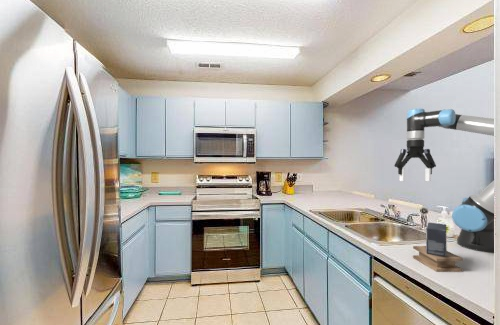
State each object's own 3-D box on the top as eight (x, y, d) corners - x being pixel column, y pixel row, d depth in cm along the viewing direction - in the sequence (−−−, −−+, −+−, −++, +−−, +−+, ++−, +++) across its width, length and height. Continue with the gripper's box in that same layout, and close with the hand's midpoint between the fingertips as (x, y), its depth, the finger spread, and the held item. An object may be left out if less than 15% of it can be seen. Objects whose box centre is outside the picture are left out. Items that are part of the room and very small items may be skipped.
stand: (436, 257, 106) (436, 245, 106) (462, 271, 93) (462, 258, 93) (413, 257, 106) (413, 246, 106) (436, 271, 93) (436, 258, 93)
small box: (427, 246, 106) (427, 221, 106) (446, 249, 102) (447, 224, 102) (425, 253, 98) (425, 227, 97) (446, 257, 94) (447, 230, 93)
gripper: (433, 140, 132) (433, 180, 132) (387, 140, 131) (386, 180, 132) (445, 139, 124) (444, 181, 125) (395, 139, 124) (395, 181, 124)
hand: (414, 181), depth 128 cm, fingers open, 13 cm apart
